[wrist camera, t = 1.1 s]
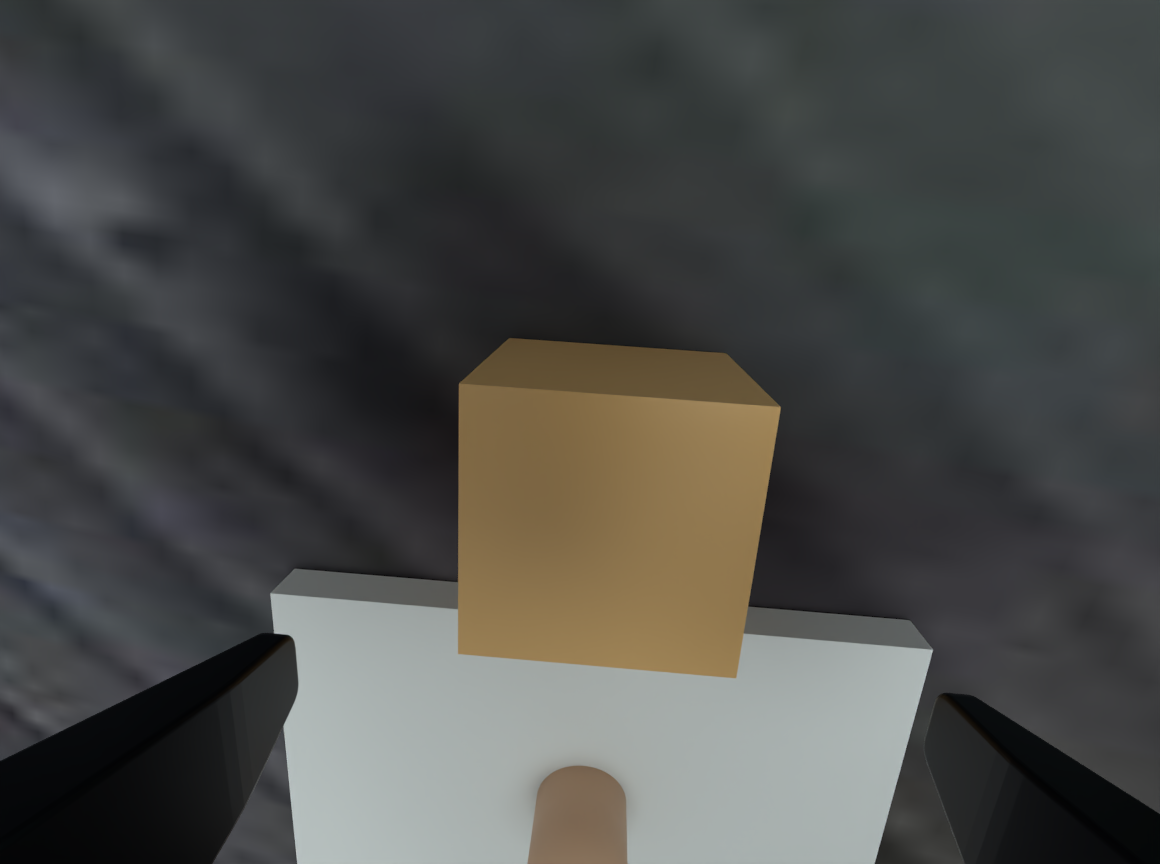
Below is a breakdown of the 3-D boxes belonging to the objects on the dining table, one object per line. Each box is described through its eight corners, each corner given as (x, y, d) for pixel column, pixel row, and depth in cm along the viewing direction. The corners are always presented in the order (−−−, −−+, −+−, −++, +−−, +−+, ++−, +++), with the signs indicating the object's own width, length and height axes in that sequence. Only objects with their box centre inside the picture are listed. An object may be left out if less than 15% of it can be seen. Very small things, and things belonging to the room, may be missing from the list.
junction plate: (829, 932, 24) (890, 1127, 19) (321, 881, 24) (240, 1056, 19) (910, 620, 20) (1017, 758, 14) (294, 568, 20) (183, 682, 15)
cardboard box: (700, 549, 19) (736, 678, 14) (503, 533, 19) (457, 654, 14) (726, 353, 17) (780, 407, 12) (509, 337, 18) (458, 383, 12)
